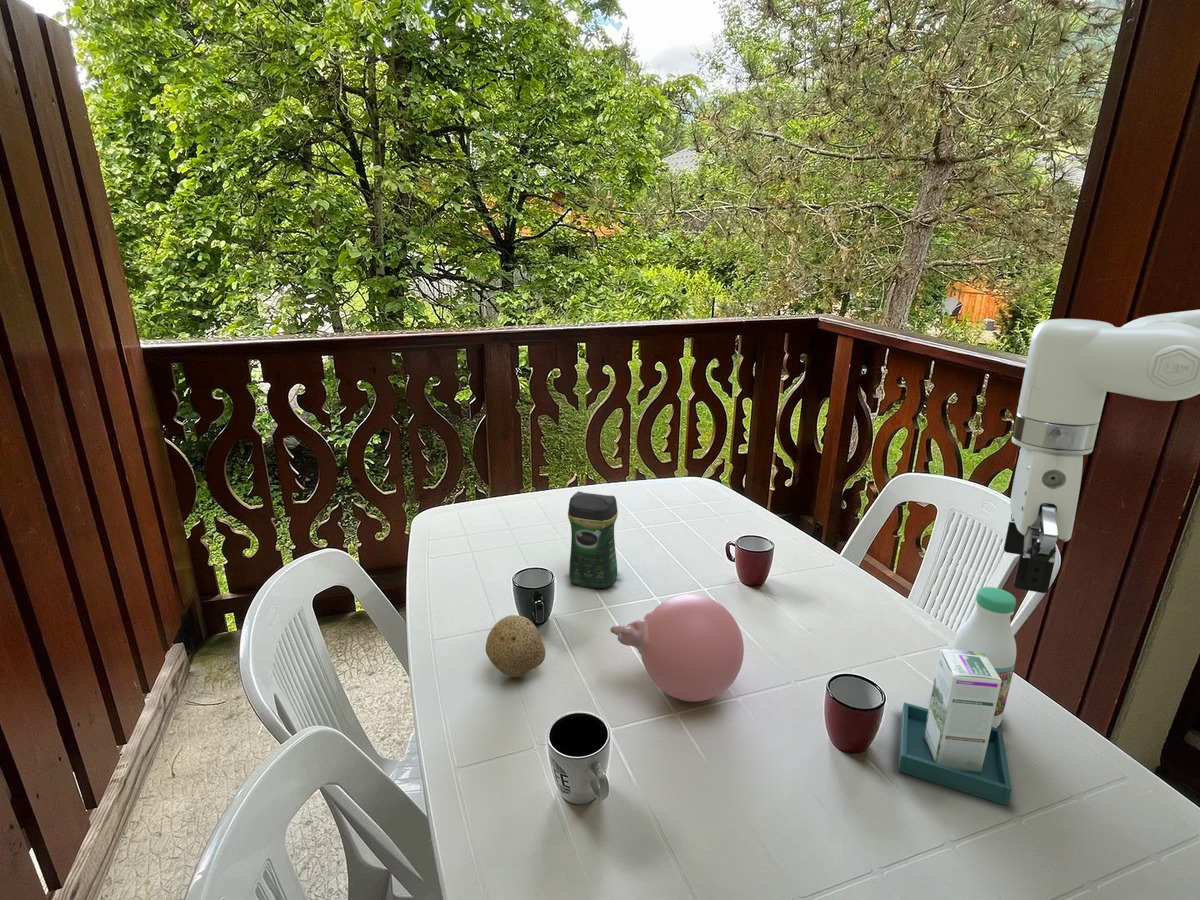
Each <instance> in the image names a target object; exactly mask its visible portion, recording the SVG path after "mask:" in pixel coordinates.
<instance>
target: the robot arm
mask: <svg viewBox="0 0 1200 900" xmlns="http://www.w3.org/2000/svg"><path fill="white" fill-rule="evenodd" d="M1107 392H1109V393H1114V394H1119V395H1123V396H1129V397H1135V398H1139V399H1145V400H1150V401H1156V402H1157V401H1159V402H1172V401H1173V402H1174V401H1180V400H1186V399H1190V398H1193V397H1195V396H1197V395H1200V309H1193V310H1184V311H1174V312H1167V313H1159V314H1151V315H1146V316H1142V317H1139V318H1136V319H1133V320H1131V321H1129V322H1127V323H1125V324H1123V325H1122V326H1120V327H1119V326H1114V324H1112V323H1110V322H1107V321H1102V320H1095V319H1084V318H1083V319H1082V318H1053V319H1047V320H1043V321H1041V322H1040V323H1038V324H1037V325H1035V328H1034V329H1033V331H1032V333H1031V337H1030V343H1029V347H1028V353H1027V357H1026V363H1025V367H1024V374H1023V377H1022V383H1021V389H1020V394H1019V398H1018V406H1017V410H1016V415H1015V419H1014V425H1013V430H1012V434H1011V435H1012V436H1011V440H1010V441H1011V443H1012V444H1014V445H1016V446H1018V447H1020V449H1019V455H1018V459H1017V463H1016V467H1015V471H1014V472H1015V473H1014V477H1013V481H1012V488H1011V495H1010V502H1009V503H1010V504H1009V505H1010V512H1011V514H1010V521H1008V526H1007V531H1006V535H1005V541H1004V546H1003V550H1004V552H1005V553H1008V554H1013V555H1019V556H1018V561H1017V566H1016V570H1015V575H1014V580H1013V585H1014V587H1015V588H1016V589H1018V590H1023V591H1024V590H1025V591H1029V592H1030V591H1031V592H1035V593H1039V594H1047V593H1048V592H1049V588H1050V583H1051V580H1052V575H1053V571H1054V566H1055V561H1056V553H1057V550H1056V549H1057V541H1058V540H1061V541H1062V542H1065V543H1066V542H1068V541H1070V539H1072V536H1073V535H1072V534H1073V529H1074V525H1075V520H1076V519H1075V518H1076V514H1077V508H1078V503H1079V497H1080V496H1079V495H1080V491H1081V483H1082V475H1083V466H1084V465H1083V463H1084V456H1085V455H1089V454H1092V452H1093V451H1094V447H1095V442H1096V439H1097V433H1098V430H1099V425H1100V422H1101V417H1102V412H1103V409H1104V404H1105V400H1106V396H1107Z"/></svg>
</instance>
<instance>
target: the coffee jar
mask: <svg viewBox="0 0 1200 900" xmlns="http://www.w3.org/2000/svg"><path fill="white" fill-rule="evenodd" d="M567 510H568V511H567V517H568V521H569V523H570V529H571V530H570V531H571V534H570V535H571V537H570V540H571V541H570V556H569V567H568V578H569V580H570V582H571V583H572V584H575V585H577V586H582V587H589V588H594V589H595V588H596V589H606V588H608V587H610V586H612V585H613V584H614V583H615V581H616V580H617V578H618V563H617V562H618V561H617V554H616V553H617V552H616V542H615V523H616V522H617V519H618V515H619V510H618V503H617V498H616V496H615V495H606V494H598V493H590V492H583V491H576V492H575V493H574V494H572V496H571V497H570V499H569V503H568V509H567Z"/></svg>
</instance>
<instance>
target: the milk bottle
mask: <svg viewBox="0 0 1200 900" xmlns="http://www.w3.org/2000/svg"><path fill="white" fill-rule="evenodd" d="M974 605H975V610H974V611H973V612H972V614H971V615H970V616H969V618H967V620H966V621H965V622H963V623H962V625H961V626H960V628H959V629H958V631H957V633H956V635H955V638H954V640H953V645H952V648H951V649H952V650H966V651H973V652H980V653H984V654H985V656H986V657H987V659H988V660H989V662H990V663H991V665H992V666H993V668H994V669H995V671H996V673H997V674H998V676H999V677H1000V679H1001V680H1002V682H1001V686H1000V691H999V695H998V700H997V704H996V709H995V713H994V718H993V723H992V727H994V728H998V727H999V726H1000V725H1001V722H1002V718H1003V716H1004V712H1005V707H1006V704H1007V700H1008V696H1009V692H1010V689H1011V683H1012V679H1013V676H1014V670H1015V666H1016V660H1017V642H1016V639H1015V635H1014V631H1013V628H1012V623H1011V622H1012V621H1011V617H1012V616H1013V615H1014V613H1015V612H1014V611H1015V609H1016V605H1017V599H1016V597H1015V596H1014V595H1013V594H1012V593H1011V592H1008V591H1006V590H1005V589H1001V588H998V587H995V586H993V587H992V586H985V587H981V588H979V589H978V590H977V592H976V597H975V601H974Z"/></svg>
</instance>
